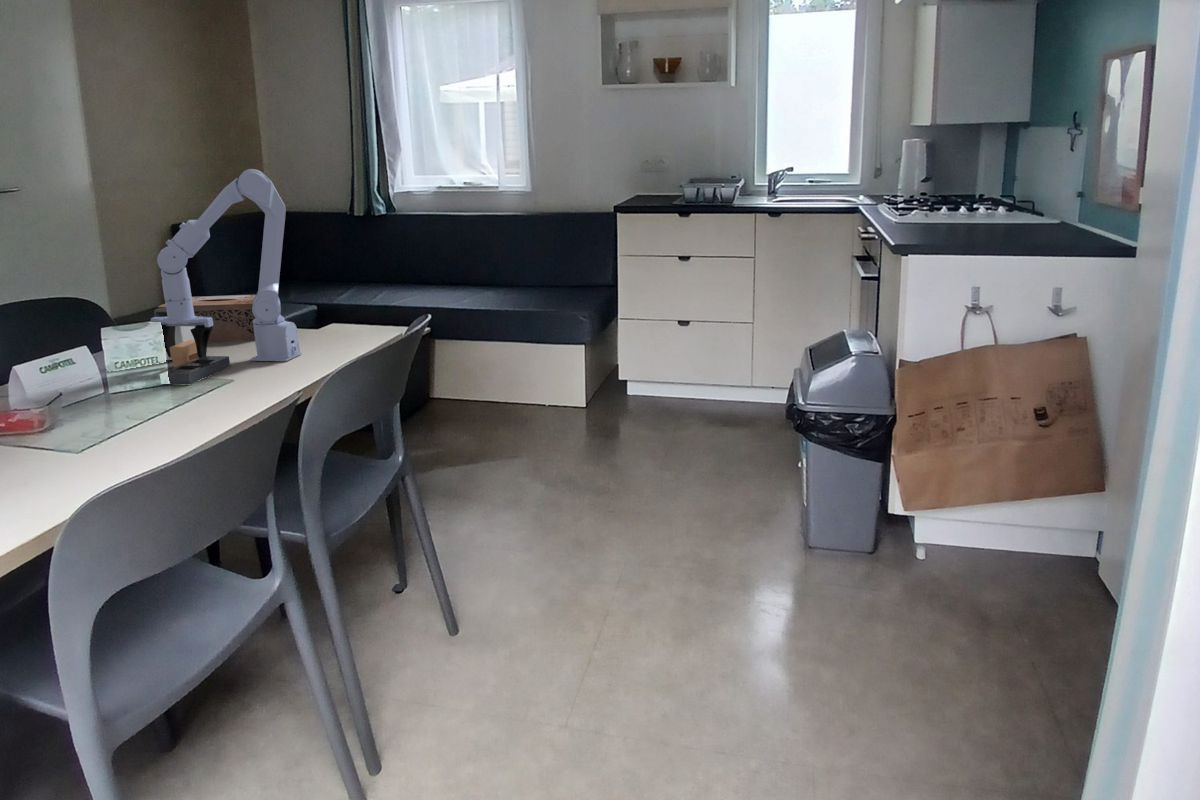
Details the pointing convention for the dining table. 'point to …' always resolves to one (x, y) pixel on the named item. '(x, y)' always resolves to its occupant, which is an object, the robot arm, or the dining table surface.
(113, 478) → the dining table surface
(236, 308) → the tissue box cover
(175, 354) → the tan block
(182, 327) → the jar
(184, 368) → the grey slotted tray
